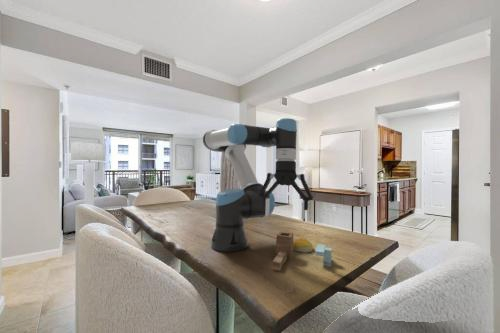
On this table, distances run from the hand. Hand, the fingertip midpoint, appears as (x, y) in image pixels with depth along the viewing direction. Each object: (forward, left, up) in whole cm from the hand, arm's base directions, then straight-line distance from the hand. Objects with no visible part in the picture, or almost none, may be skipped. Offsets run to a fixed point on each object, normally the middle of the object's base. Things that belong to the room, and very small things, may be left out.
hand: (284, 217), depth 84 cm
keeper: (+14, 0, -14) cm, 20 cm away
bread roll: (+5, +10, -15) cm, 19 cm away
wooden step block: (0, -5, -14) cm, 15 cm away
